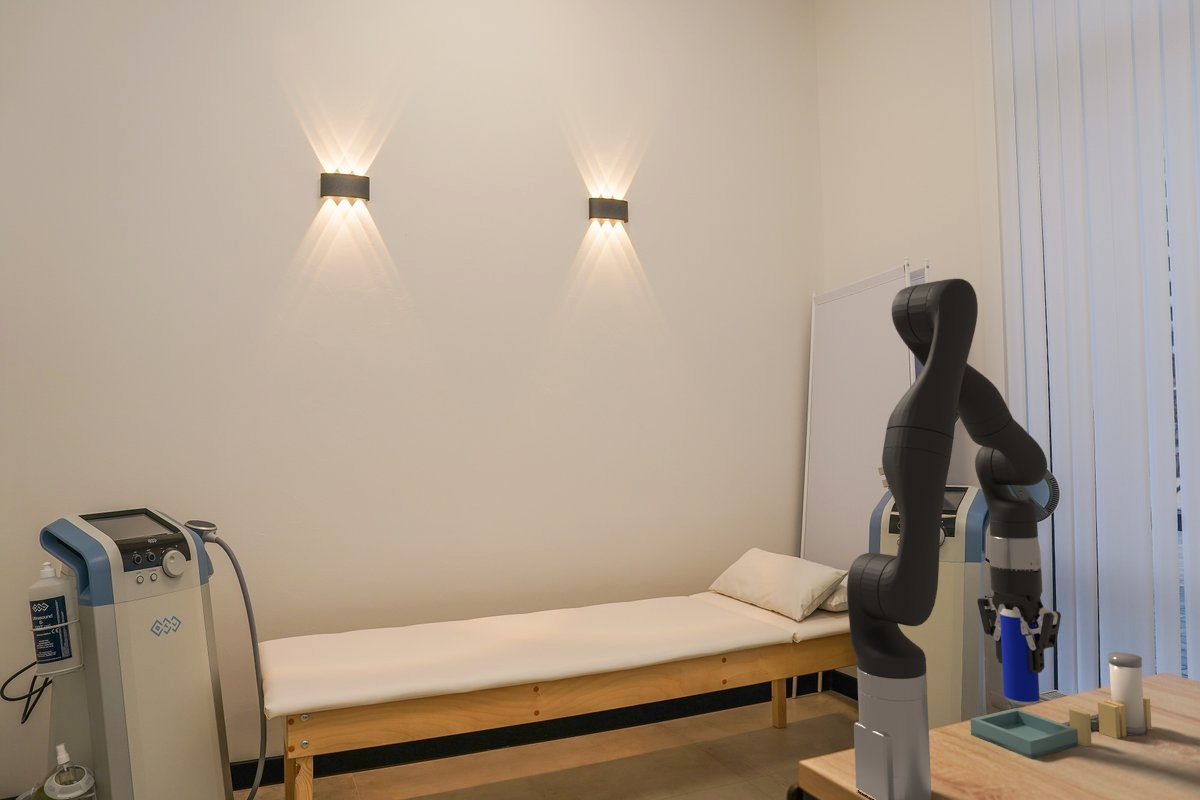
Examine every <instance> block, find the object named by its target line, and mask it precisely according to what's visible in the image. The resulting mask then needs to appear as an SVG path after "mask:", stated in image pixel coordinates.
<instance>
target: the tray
mask: <svg viewBox="0 0 1200 800" xmlns="http://www.w3.org/2000/svg"><path fill="white" fill-rule="evenodd" d="M1061 723H1062V722H1061ZM1061 723H1060V722H1058V721H1055V720H1052V719H1049V718H1046V717H1043V716H1040V715H1037V714H1034V713H1032V712H1029V711H1025V710H1023V709H1020V708H1018V707H1016V708H1011V709H1007V710H1002V711H998V712H993V713H989V714H985V715H982V716H981V715H980V716H977V717H972V718H970V734H971V736H974V737H976V738H979V739H982V740H984V741H986V742H989V743H991V744H994V745H995V746H996V745H997V746H998V747H1001V748H1004V749H1006V750H1008V751H1011V752H1014V753H1016V754H1018V755H1021V756H1023V757H1025V758H1028V759H1034V758H1039V757H1042V756H1045V755H1050V754H1053V753H1054V754H1055V753H1057V752H1060V751H1063V750H1067V749H1070V748H1076V747H1079V743H1078V730H1077V729H1075V728H1073V727H1070V726H1067V725H1064V724H1061Z"/></svg>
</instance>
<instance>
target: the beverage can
mask: <svg viewBox="0 0 1200 800" xmlns="http://www.w3.org/2000/svg"><path fill="white" fill-rule="evenodd" d="M1021 623H1022V621H1020V617H1018V616H1017V615H1016V613H1015V611H1013V610H1009V609H1002V611H1001V613H1000V624H1001V645H1002V664H1001V665H1002V681H1003V682H1002V684H1003V685H1002V686H1003V695H1004V697H1005V699H1006V700H1007V701H1008V702H1010V703H1012V704H1015V705H1020V706H1021V705H1022V706H1032V705H1033V706H1034V705H1036V704H1037V703H1038V702H1039V701H1040V684H1039V683H1040V681H1039V673H1036V674H1035V673H1031V672H1030V671H1029V656H1028V650H1029V649H1030V648H1029V645H1028V642H1027V640H1026V637H1025V636H1024V635H1023V634H1022V632H1021ZM1035 626H1036V625H1035V624H1031V625H1028V627H1029V628H1030V629H1035ZM1034 638H1035V634H1034Z"/></svg>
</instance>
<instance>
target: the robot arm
mask: <svg viewBox="0 0 1200 800" xmlns="http://www.w3.org/2000/svg"><path fill="white" fill-rule="evenodd" d="M978 309H979V307H978V298H977V294H976V290H975V289H974V287H973V285H972V284H971V283H970V282H969V281H967V280H965V279H964V278H948V279H942V280H935V281H930V282H925V283H920V284H915V285H910V286H906V287H904V288H902V289H900V290H899V291H898V292H897V293H896V294H895V296H894V298H893V301H892V305H891V319H892V323H893V325H894V328H895V330H896V332H897V333H898V336H899V337H900V339H901V340H902V342H903V343H904V344H905V345H906V347H907V348H908V349H909V351H911V353H912V354H913V355H914V356H915V358H916V359H917V360H918V361H919V363H920V364H921V366H923V368H922V370H921V372H920V373H919V375H918V377H917V378H916V379H915V380H914V382H913V383H912V384H911V386H910V387H909V388H908V389H907V391H906V392H905V393H904V395H903V396H902V397H901V399H900V400H899V402H898V403H897V404H896V405H895V407H894V409H893V410H892V413H890V415H889V419H888V422H887V425H886V429H885V437H884V441H883V449H882V456H881V457H882V458H881V465H882V470H883V474H884V477H885V479H886V480H885V481H886V483H887V486H888V488H889V489H890V492H891V495H892V497H893V500H894V502H895V505H896V507H897V511H898V517H899V525H900V527H899V528H900V529H899V540H898V549H897V552H896V553H897V554H896V555H893V554H885V553H878V552H866V553H865V552H864V553H863V554H860V555H859V556H857V557H856V558H855V559H854V561H853V562H852V564H851V566H850V569H849V571H848V575H847V582H846V599H847V612H848V613H847V614H848V621H849V622H848V623H849V635H850V642H851V646H852V649H853V651H854V654H855V656H856V664H857V666H856V668H857V669H856V671H857V697H858V721H856V722H854V724H853V738H854V739H853V742H854V767H855V789H856V788H858V789H859V790H862V791H863V792H865V793H866V794H868V795H870V796H872V797H873V798H875V799H876V800H932V796H933V794H932V775H931V754H930V750H931V749H930V748H931V747H930V730H929V728H930V727H929V723H930V722H929V704H928V681H927V680H928V678H927V677H928V676H927V657H926V654H925V652H924V650H923V649H922V647H920V646H918V644H916V643H914V642H913V641H912V640H911V639H910V638H908V637H907V636H906V634H904V632H903V631H902V630H901V628H900V627H899V625H903V626H906V627H918V626H922V625H923V624H924V623H925V622H926V621H928V619H929V618H930V617H931V614H932V612H933V610H934V607H935V604H936V599H937V592H938V588H939V587H938V585H939V572H940V571H939V570H940V553H941V552H940V551H941V550H940V549H941V528H942V517H943V508H944V501H945V493H946V486H947V480H948V474H949V470H950V464H951V457H952V453H953V446H954V445H953V444H954V439H955V438H954V437H955V428H956V419H957V416H958V418H959V419H960V421H961V423H962V425H963V427H964V428H965V430H966V432H967V434H968V435H969V437H970V439H971V440H972V441H973V442H974V443H975V444H976V445H979V446H981V447H980V448H979V450H978V451H977V453H976V456H975V458H974V459H975V461H974V467H975V473H976V477H977V479H978V482H979V485H980V487H981V488H980V489H981V491H982V493H983V496H984V499H985V500H984V501H985V503H986V506H987V509H988V513H989V514H988V517H989V518H988V519H989V535H990V536H989V545H988V546H989V547H988V548H989V549H988V550H989V551H988V553H989V572H990V574H989V576H990V589H991V591H992V592H993V595H992V597H991V596H989V597H988V596H987V597H981V598H978V599H977V601H976V602H977V605H978V610H979V614H980V619H981V624H982V627H983V633H985V635H990V636H991V637H992V638H993V639H994V641H995V653H996V654H995V655H996V659H997V660H998V663H999V664H1001V665H1002V645H1001V624H1000V613H1001V611H1002V609H1009V610H1013V611H1015V613H1016V615H1017V616H1018V617H1020V621H1022V623H1021V632H1022V634H1023V635H1024V636H1025V637H1026V640H1027V642H1028V645H1029V648H1030V649H1029V650H1028V656H1029V671H1030V672H1031V673H1035V674H1036V673H1038V674H1040V673H1042V672H1043V670H1044V669H1045V650H1046V649H1050V648H1055V647H1056V646H1057V642H1058V641H1057V640H1058V636H1059V630H1060V623H1061V619H1062V616H1061V615H1062V614H1061V613H1060V612H1059V611H1058V610H1055V611H1054V610H1053V611H1051V610H1050V609H1048V608H1046V607H1045V606H1044V605H1043V603H1042V600H1041V596H1042V593H1043V575H1042V573H1043V572H1042V558H1041V557H1042V556H1041V546H1040V543H1039V535H1038V534H1039V532H1038V514H1037V513H1038V512H1037V508H1036V505H1035V504H1034V503H1033V502H1031V501H1028V500H1025V499H1022V498H1018V497H1016V496H1014V495H1013V494H1012V492H1011V490H1010V489H1009V487H1008V486H1021V487H1022V486H1024V487H1026V486H1027V487H1028V486H1035V485H1038V484H1039V483H1041V482H1042V481H1043V480H1044V478H1045V477H1046V476H1047V472H1048V462H1047V457H1046V454H1045V452H1044V450H1043V448H1042V447H1041V446H1040V445H1039V444H1038V442H1037V441H1036V440H1035V439H1034V438H1033V437H1032V436H1031V435H1030V433H1028V432H1027V431H1026V430H1025V429H1024V428H1023V427H1022V425H1020V423H1018V422H1017V421H1016V420H1015V419H1014V417H1013V415H1012V414H1011V411H1010V409H1009V408H1008V405H1007V404H1006V401H1005V400H1004V398H1003V396H1002V394H1001V392H1000V391H999V389H998V388H997V387H996V385H995V384H994V383H993V382H992V381H990V380H989V379H988V378H987V377H986V376H985V375H984V374H982V373H981V372H980V371H978V370H977V369H976V368H974V367H973V366H972V365H970V364H968V360H969V355H970V351H971V348H972V344H973V340H974V336H975V331H976V326H977V322H978V321H977V319H978V311H979V310H978ZM1039 618H1040V619H1039ZM1031 624H1035V625H1036V626H1035V629H1030V628H1029V627H1028V625H1031ZM1034 634H1035V638H1034Z"/></svg>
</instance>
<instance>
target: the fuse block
mask: <svg viewBox="0 0 1200 800" xmlns="http://www.w3.org/2000/svg"><path fill="white" fill-rule="evenodd" d="M1143 705H1144V723H1145V728H1146V730H1147V731H1149V730H1152V712H1151V698H1149V697H1146V696H1143ZM1097 709H1098V710H1097V711H1098V714H1093V715H1091V713H1088V712H1085V711H1083V710H1079V709H1076V708H1070V709H1068V713H1069V717H1068V718H1069V721H1065V722H1061V724H1064V725H1067V726H1070V727H1073V728H1075V729H1077V730H1078V745H1080V746H1081V745H1082V746H1085V747H1091V746H1092V745H1093V743H1092V732H1093V731H1094V732H1097V731H1099V734H1102V735H1104V736H1107V737H1111V738H1113V739H1120V738H1121V737H1122V738H1124V737H1126V736H1127V735H1128V734H1126V715H1125V705H1123V704H1120V703H1117V702H1113V701H1111V700H1110V699H1107V700H1103V701H1102V700H1101V701H1098V702H1097Z"/></svg>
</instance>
